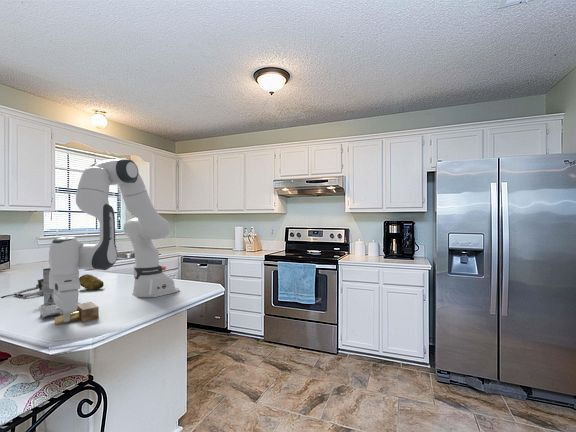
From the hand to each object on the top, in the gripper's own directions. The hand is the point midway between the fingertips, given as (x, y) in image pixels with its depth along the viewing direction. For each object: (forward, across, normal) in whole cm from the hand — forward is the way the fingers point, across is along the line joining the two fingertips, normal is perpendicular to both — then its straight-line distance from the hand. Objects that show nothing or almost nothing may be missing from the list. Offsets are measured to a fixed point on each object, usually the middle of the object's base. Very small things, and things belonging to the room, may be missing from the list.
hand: (64, 319), depth 112 cm
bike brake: (+3, -67, -2) cm, 67 cm away
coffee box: (+3, -42, +5) cm, 43 cm away
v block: (+2, -12, +1) cm, 13 cm away
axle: (+1, 0, +4) cm, 4 cm away
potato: (+3, -58, +22) cm, 62 cm away
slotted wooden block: (+2, 0, +7) cm, 7 cm away
